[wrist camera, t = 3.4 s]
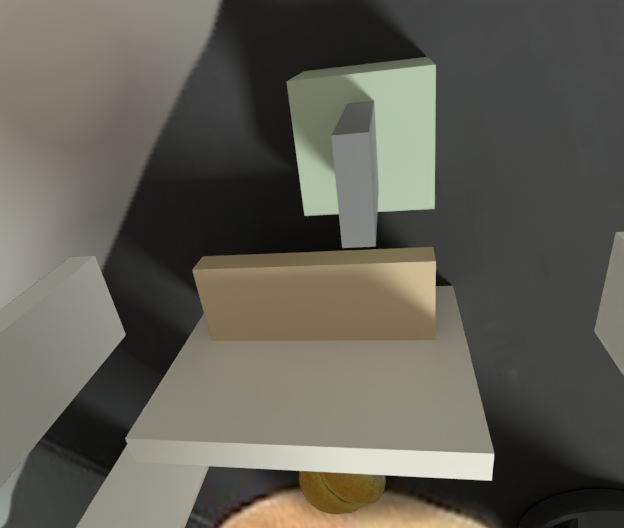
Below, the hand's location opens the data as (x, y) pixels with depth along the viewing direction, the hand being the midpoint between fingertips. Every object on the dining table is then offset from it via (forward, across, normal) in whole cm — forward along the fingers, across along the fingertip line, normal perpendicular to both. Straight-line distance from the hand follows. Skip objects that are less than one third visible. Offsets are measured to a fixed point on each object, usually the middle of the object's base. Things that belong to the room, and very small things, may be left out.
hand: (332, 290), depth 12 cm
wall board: (+22, +4, +13) cm, 26 cm away
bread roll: (+22, +5, +36) cm, 43 cm away
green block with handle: (+22, 0, 0) cm, 22 cm away
